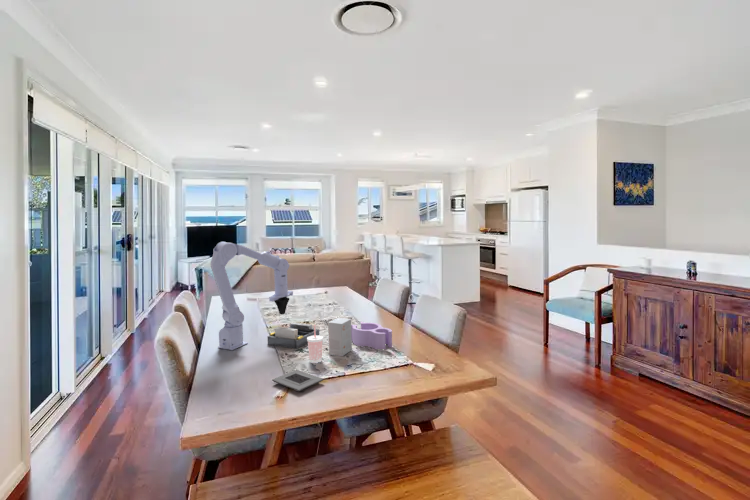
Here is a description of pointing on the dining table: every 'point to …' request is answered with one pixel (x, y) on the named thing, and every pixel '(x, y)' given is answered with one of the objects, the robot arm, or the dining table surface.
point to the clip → (371, 335)
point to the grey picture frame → (297, 380)
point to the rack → (303, 333)
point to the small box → (339, 336)
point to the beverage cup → (315, 347)
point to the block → (286, 333)
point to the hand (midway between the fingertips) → (282, 313)
